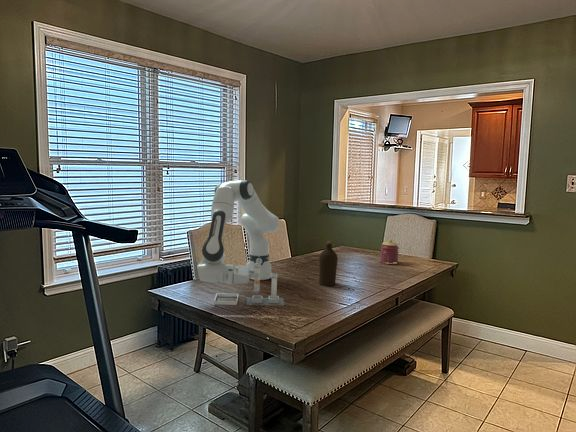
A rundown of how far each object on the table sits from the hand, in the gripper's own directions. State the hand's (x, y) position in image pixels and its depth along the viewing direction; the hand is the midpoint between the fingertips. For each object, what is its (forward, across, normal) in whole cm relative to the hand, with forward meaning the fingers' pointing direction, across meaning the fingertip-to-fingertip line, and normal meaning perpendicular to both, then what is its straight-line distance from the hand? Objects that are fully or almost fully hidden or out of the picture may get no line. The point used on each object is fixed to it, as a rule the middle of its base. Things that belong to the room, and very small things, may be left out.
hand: (259, 274), depth 214 cm
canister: (+94, -100, -16) cm, 138 cm away
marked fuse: (-1, 0, -8) cm, 9 cm away
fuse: (+8, 0, -13) cm, 15 cm away
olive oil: (+40, -38, -15) cm, 57 cm away
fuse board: (+4, 0, -14) cm, 15 cm away
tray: (-15, 0, -14) cm, 21 cm away
